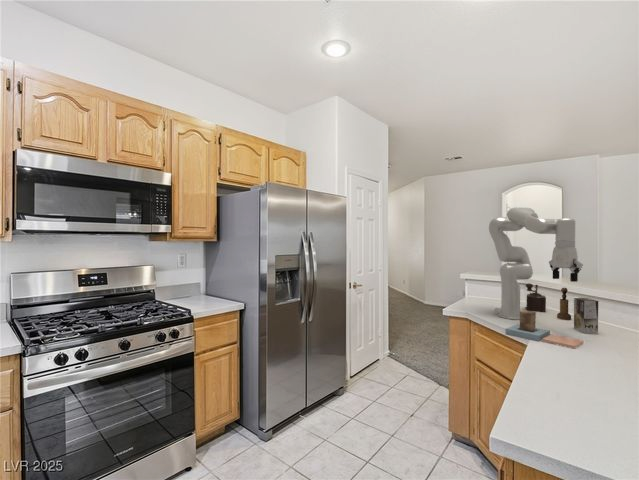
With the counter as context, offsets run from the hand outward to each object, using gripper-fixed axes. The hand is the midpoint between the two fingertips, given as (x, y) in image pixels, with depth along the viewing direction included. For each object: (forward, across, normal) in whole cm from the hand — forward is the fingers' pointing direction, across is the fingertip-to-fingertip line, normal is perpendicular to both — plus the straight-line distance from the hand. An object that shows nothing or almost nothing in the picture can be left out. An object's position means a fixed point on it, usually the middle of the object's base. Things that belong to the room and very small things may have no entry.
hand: (564, 280), depth 155 cm
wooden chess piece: (+27, -29, +29) cm, 49 cm away
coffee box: (+27, -5, +17) cm, 32 cm away
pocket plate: (+26, -3, -17) cm, 32 cm away
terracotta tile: (+26, +9, -10) cm, 30 cm away
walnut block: (+26, -3, -17) cm, 32 cm away
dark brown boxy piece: (+27, -50, +29) cm, 63 cm away
